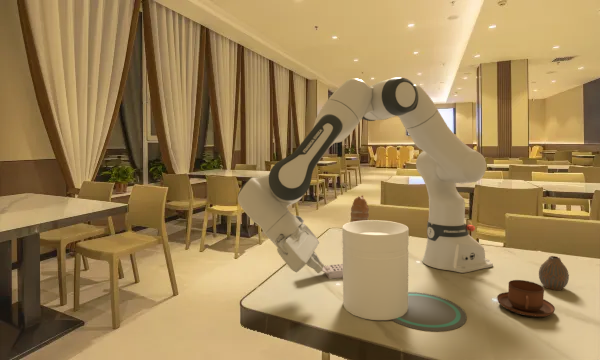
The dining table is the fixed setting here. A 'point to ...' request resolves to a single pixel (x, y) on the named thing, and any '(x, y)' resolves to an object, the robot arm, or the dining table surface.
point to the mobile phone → (333, 271)
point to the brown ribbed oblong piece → (359, 209)
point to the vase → (553, 273)
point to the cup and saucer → (526, 299)
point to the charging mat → (431, 313)
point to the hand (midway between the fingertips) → (321, 269)
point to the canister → (375, 269)
